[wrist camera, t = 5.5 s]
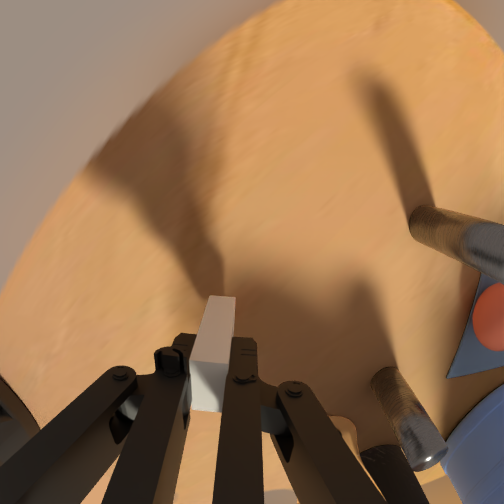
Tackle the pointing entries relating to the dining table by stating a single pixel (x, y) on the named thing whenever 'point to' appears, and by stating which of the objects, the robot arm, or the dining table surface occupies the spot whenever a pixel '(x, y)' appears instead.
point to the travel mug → (393, 475)
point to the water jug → (478, 452)
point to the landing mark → (475, 345)
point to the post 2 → (461, 238)
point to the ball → (490, 318)
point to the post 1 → (408, 420)
